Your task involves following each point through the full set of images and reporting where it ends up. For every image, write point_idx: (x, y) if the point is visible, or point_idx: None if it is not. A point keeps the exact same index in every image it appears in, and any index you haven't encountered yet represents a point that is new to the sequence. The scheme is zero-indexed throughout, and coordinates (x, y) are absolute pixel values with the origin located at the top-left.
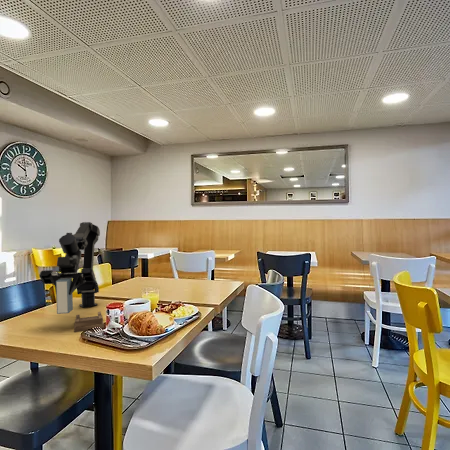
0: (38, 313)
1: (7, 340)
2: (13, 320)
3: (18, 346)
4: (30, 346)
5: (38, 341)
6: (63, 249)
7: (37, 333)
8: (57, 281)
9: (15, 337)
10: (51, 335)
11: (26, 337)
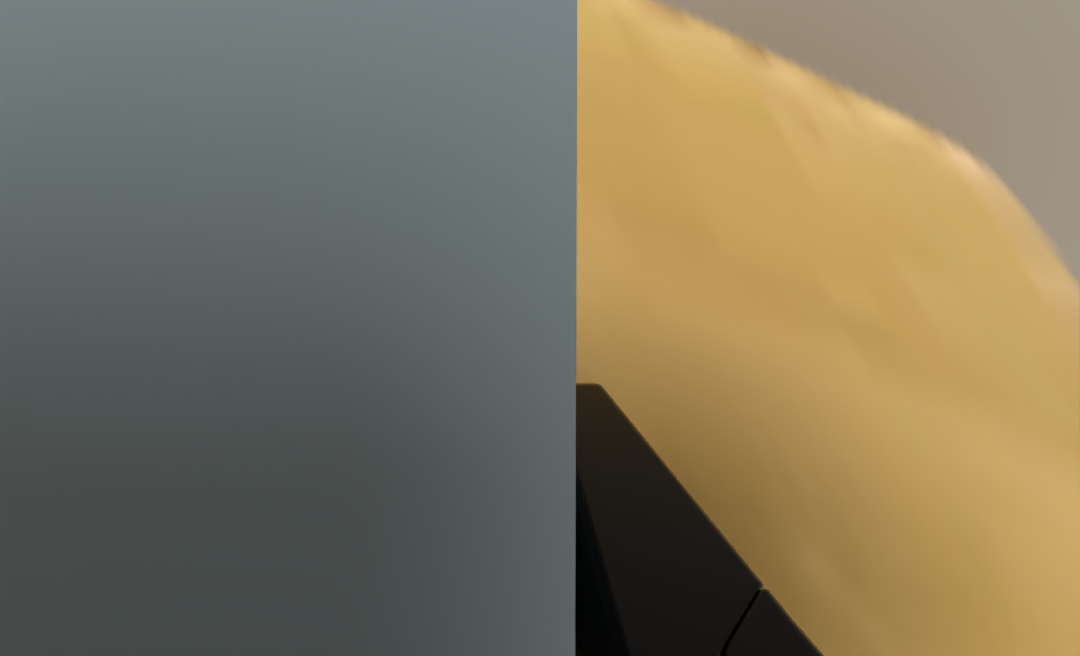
0: None
1: (1037, 273)
2: None
3: (804, 73)
4: (681, 48)
5: (660, 162)
6: None
7: (797, 438)
8: (464, 26)
9: (1003, 354)
10: (589, 318)
11: (863, 321)
